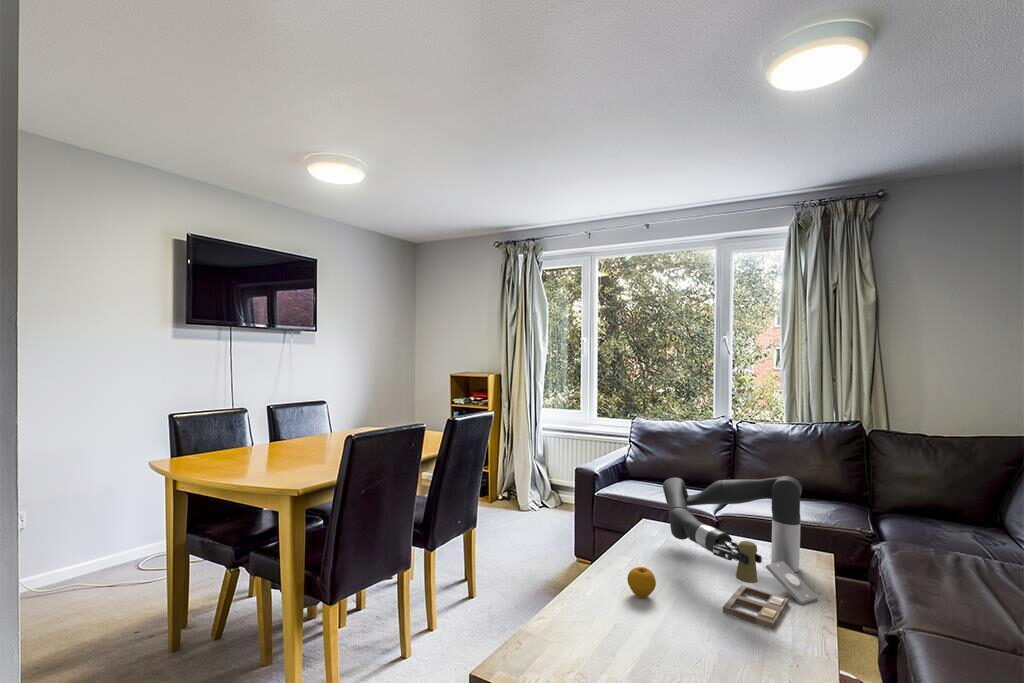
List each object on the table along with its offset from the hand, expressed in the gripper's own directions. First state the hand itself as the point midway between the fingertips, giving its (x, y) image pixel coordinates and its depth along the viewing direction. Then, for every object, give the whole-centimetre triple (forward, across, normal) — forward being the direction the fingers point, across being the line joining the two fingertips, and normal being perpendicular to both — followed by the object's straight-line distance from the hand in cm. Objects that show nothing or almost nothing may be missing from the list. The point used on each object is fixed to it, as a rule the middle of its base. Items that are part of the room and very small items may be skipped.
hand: (754, 560), depth 154 cm
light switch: (-8, -25, -17) cm, 31 cm away
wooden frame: (-4, -5, -17) cm, 18 cm away
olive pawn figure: (-3, 0, -7) cm, 7 cm away
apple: (-21, +24, -17) cm, 37 cm away
